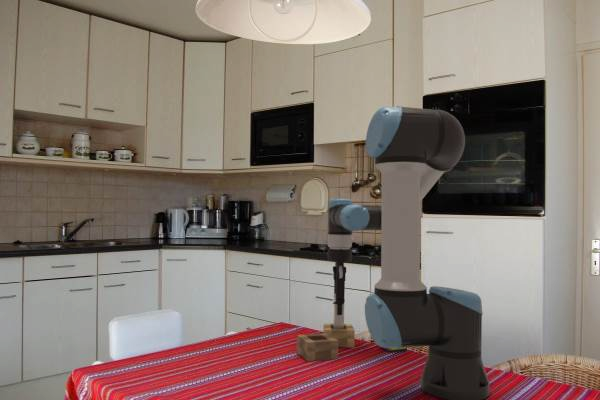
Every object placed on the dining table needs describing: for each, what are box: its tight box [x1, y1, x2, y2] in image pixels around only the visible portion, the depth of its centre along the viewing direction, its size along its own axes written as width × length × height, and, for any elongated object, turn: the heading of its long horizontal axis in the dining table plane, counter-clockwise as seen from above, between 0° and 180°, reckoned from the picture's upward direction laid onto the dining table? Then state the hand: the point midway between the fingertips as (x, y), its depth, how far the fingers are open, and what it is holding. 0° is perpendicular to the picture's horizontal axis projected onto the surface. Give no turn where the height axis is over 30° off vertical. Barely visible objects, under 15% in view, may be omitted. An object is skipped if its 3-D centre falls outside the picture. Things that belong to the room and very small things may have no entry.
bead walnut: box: [296, 332, 339, 362], centre depth 143 cm, size 9×9×5 cm
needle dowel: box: [333, 293, 344, 329], centre depth 157 cm, size 3×3×14 cm
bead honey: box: [322, 323, 355, 348], centre depth 157 cm, size 9×9×5 cm
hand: (338, 323), depth 157 cm, fingers closed on needle dowel, 3 cm apart
